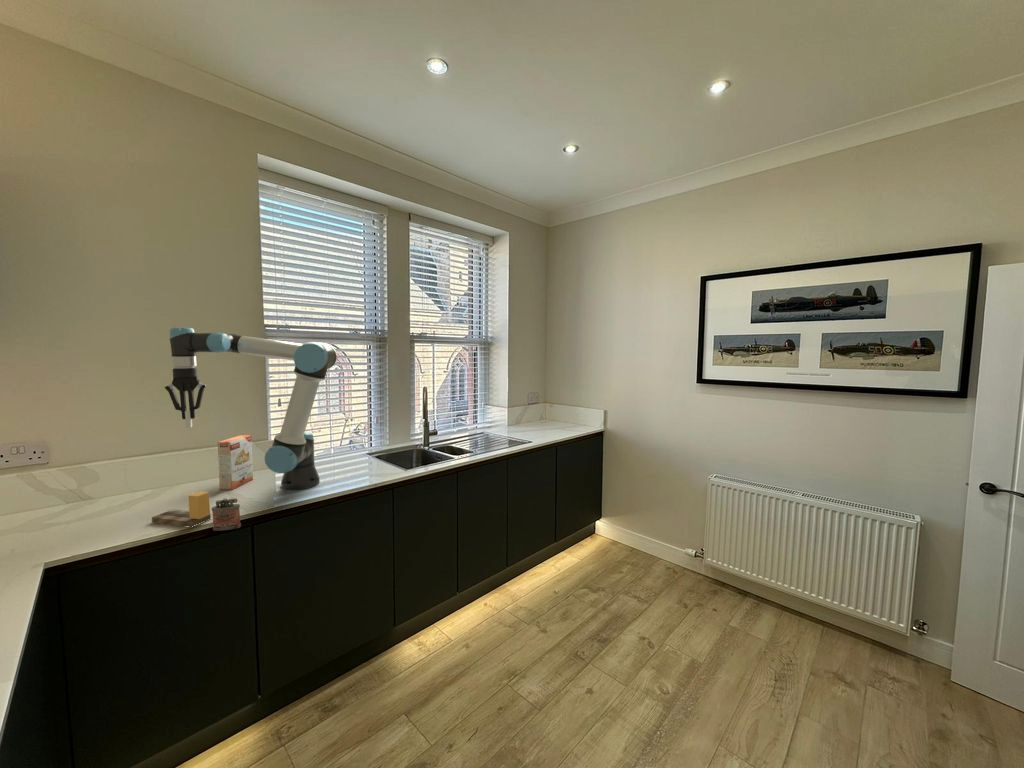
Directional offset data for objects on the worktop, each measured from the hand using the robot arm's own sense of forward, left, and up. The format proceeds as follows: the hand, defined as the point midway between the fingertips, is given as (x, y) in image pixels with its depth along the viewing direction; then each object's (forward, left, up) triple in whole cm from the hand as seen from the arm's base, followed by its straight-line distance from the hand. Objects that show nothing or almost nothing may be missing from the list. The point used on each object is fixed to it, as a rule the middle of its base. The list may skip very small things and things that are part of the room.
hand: (189, 427), depth 162 cm
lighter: (-16, +38, -29) cm, 51 cm away
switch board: (-1, +24, -29) cm, 38 cm away
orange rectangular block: (-7, +30, -27) cm, 41 cm away
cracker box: (-13, -12, -29) cm, 34 cm away
